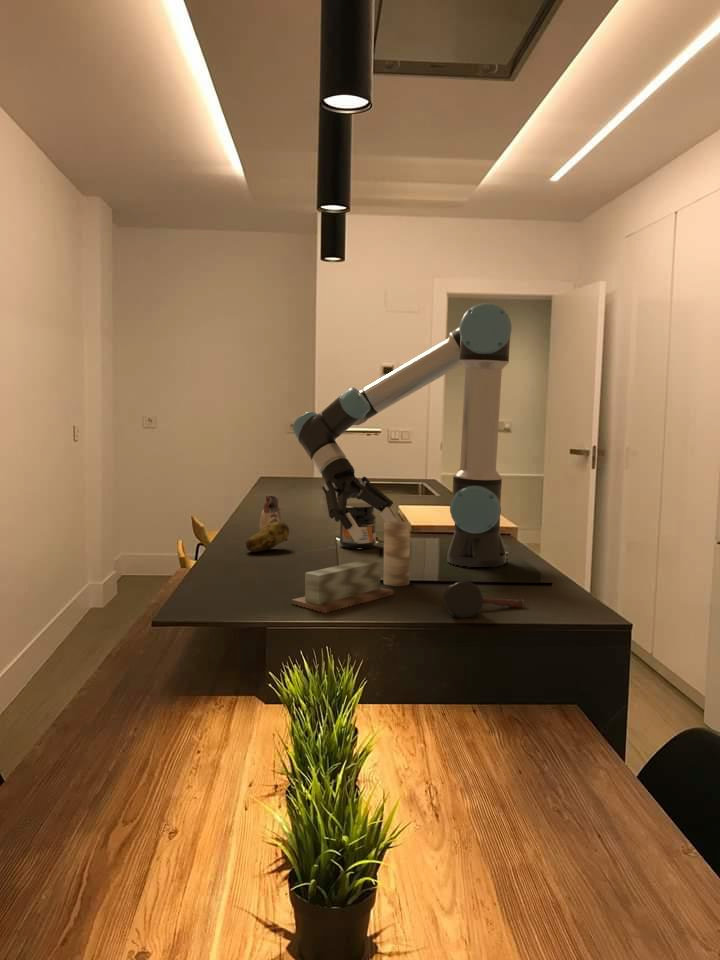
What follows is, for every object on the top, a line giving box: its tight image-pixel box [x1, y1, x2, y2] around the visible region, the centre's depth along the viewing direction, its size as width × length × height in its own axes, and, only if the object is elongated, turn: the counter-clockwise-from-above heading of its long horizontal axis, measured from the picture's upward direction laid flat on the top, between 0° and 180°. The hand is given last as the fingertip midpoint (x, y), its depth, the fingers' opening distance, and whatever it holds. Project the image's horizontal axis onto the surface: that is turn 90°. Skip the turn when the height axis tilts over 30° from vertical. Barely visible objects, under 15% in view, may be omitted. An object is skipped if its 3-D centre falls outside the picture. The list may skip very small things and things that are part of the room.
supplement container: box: [338, 502, 377, 550], centre depth 239 cm, size 10×10×12 cm
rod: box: [383, 521, 411, 587], centre depth 194 cm, size 6×6×14 cm
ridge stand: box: [291, 559, 394, 614], centre depth 179 cm, size 21×10×7 cm, turn 138°
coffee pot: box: [443, 580, 525, 620], centre depth 170 cm, size 8×18×8 cm
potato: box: [245, 521, 290, 553], centre depth 232 cm, size 8×13×8 cm, turn 112°
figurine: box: [258, 494, 282, 531], centre depth 262 cm, size 7×7×12 cm
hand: (379, 535), depth 196 cm, fingers open, 13 cm apart
